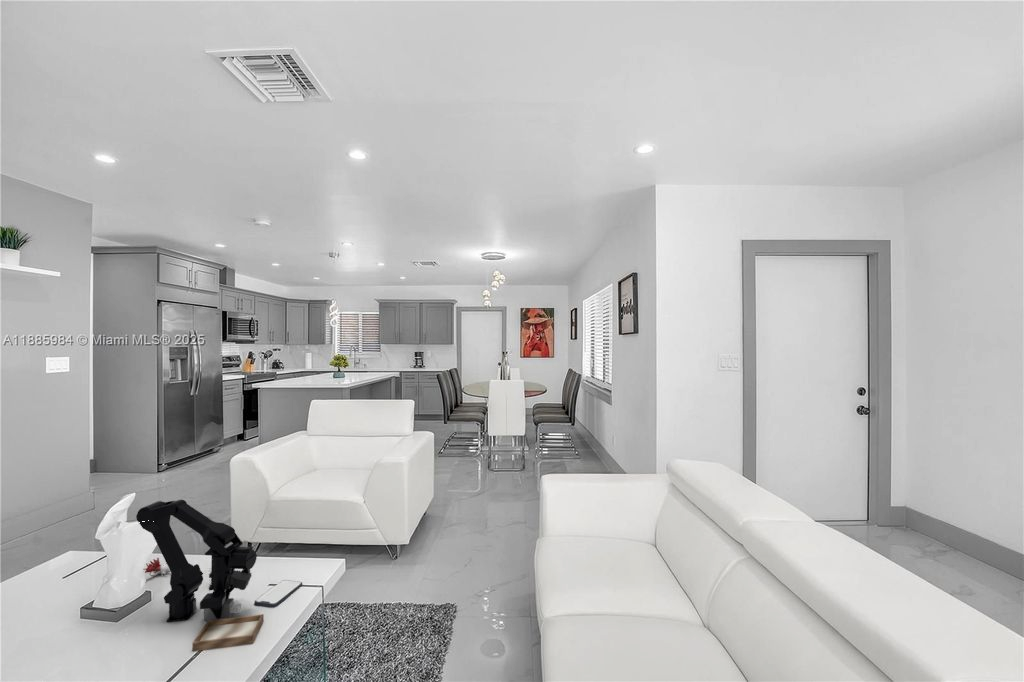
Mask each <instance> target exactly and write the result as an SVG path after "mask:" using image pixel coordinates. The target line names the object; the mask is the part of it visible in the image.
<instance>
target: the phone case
mask: <svg viewBox="0 0 1024 682" xmlns="http://www.w3.org/2000/svg"><path fill="white" fill-rule="evenodd" d="M301 587H303V581H299V580H297V581H296V580H288V579H284V580H281V581H280V582H278V583H277V584H276V585H274V586H273V587H272V588H270V589H269V590H267V591H266V592H264V593H263V594H262V595H260V596H259V597H257V598H256V599H255V600H254V606H256V607H262V608H272V609H274V608H277V607H278V606H279V605H281V604H282V603H283V602H285V600H287V599H288V598H289V597H291V596H292V595H293V594H294V593H296V592H297V590H299V589H300V588H301ZM291 594H292V595H291Z"/></svg>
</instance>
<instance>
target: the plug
mask: <svg viewBox="0 0 1024 682" xmlns="http://www.w3.org/2000/svg"><path fill="white" fill-rule="evenodd" d="M234 600H235V599H234V597H231V598H230V597H229V599H227V600H226V602H225V603H224V604H223V609H222V614H221V618H219V619H227V618H232V616H233V614H235V613H239V611H240V610H241V608H242V605H241V604H242V603H236V604H235V603H234V602H235V601H234ZM210 620H218V619H217V618H216V617H215V615H214V614H213V612H212V611H211V609H210V608H207V609H203V622H204V623H206V622H207V621H210Z"/></svg>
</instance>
